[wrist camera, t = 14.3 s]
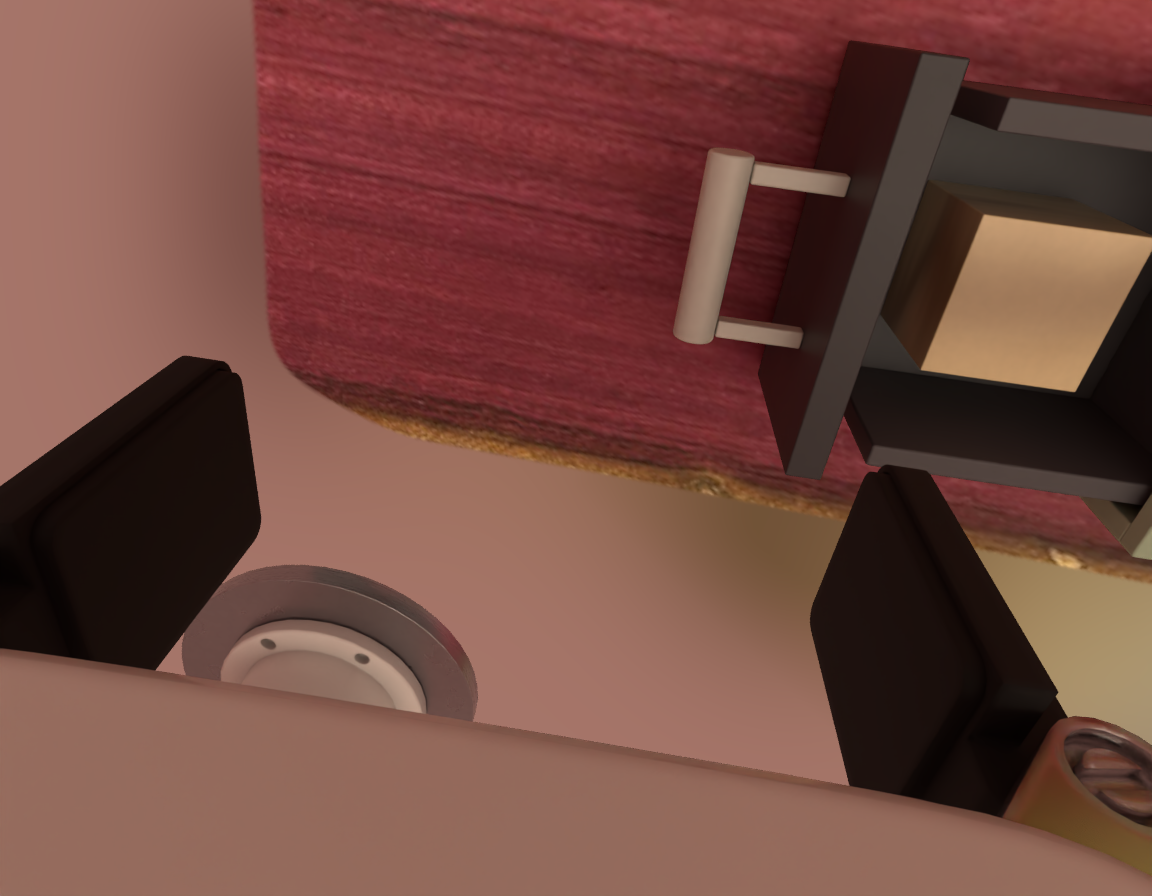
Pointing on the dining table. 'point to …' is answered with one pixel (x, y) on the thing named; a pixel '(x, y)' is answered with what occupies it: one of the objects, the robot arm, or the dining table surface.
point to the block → (1010, 284)
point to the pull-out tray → (871, 256)
